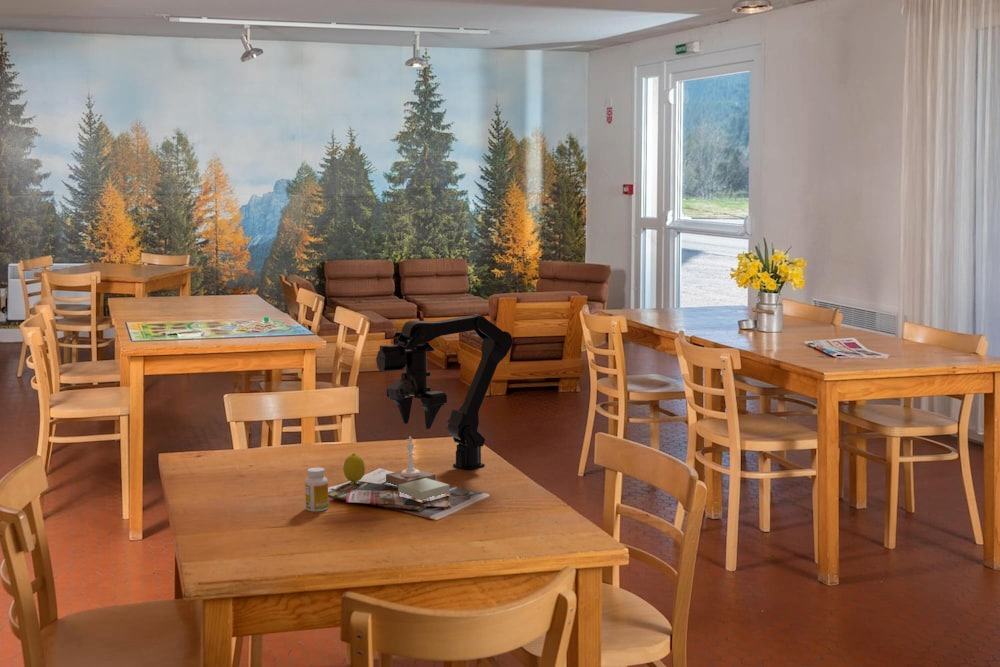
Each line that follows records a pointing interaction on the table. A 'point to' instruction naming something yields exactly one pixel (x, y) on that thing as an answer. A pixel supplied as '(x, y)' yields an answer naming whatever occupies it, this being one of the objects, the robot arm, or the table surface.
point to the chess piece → (410, 461)
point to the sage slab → (424, 488)
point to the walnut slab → (399, 479)
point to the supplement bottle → (316, 490)
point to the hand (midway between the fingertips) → (416, 426)
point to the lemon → (354, 468)
